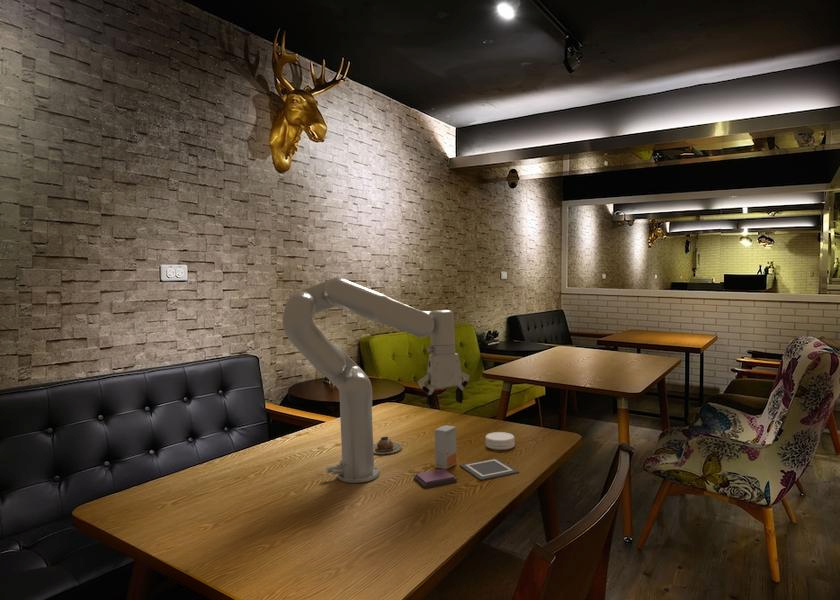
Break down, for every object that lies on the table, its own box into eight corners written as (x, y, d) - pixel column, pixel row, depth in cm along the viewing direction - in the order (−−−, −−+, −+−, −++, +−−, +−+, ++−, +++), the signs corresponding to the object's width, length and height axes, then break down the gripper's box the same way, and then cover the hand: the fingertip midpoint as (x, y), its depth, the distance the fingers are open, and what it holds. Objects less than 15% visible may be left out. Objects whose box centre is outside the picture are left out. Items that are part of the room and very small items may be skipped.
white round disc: (513, 441, 189) (513, 431, 189) (515, 450, 179) (515, 440, 179) (485, 441, 190) (484, 431, 190) (485, 450, 180) (485, 440, 180)
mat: (480, 480, 154) (480, 478, 154) (460, 466, 166) (459, 464, 166) (518, 472, 159) (518, 470, 159) (496, 459, 171) (496, 457, 171)
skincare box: (446, 470, 163) (445, 431, 162) (435, 467, 165) (434, 429, 165) (457, 464, 168) (456, 426, 167) (446, 461, 170) (445, 424, 170)
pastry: (401, 456, 178) (400, 442, 178) (365, 457, 178) (364, 443, 178) (402, 444, 190) (402, 432, 190) (369, 445, 190) (368, 433, 190)
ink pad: (424, 488, 149) (424, 483, 149) (414, 478, 157) (413, 473, 157) (456, 481, 153) (456, 476, 153) (444, 472, 161) (444, 467, 161)
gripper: (422, 354, 158) (424, 411, 159) (473, 348, 165) (475, 403, 166) (412, 351, 165) (415, 405, 166) (462, 346, 172) (464, 398, 172)
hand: (445, 404), depth 166 cm, fingers open, 9 cm apart
